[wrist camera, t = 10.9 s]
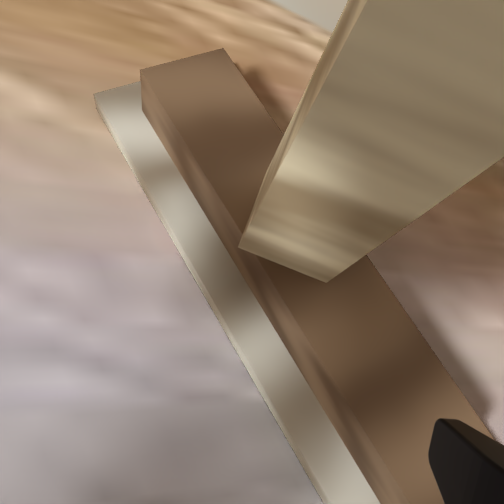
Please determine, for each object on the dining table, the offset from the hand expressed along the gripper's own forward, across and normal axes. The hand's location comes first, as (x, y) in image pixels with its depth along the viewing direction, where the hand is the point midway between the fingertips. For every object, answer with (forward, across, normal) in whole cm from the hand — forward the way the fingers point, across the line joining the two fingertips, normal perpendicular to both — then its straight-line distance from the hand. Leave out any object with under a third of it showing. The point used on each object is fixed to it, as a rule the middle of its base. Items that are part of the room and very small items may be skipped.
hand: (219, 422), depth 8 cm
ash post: (+11, -3, -2) cm, 12 cm away
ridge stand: (+14, -3, +1) cm, 14 cm away
